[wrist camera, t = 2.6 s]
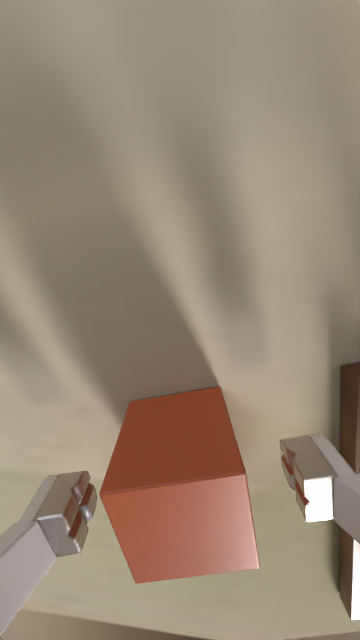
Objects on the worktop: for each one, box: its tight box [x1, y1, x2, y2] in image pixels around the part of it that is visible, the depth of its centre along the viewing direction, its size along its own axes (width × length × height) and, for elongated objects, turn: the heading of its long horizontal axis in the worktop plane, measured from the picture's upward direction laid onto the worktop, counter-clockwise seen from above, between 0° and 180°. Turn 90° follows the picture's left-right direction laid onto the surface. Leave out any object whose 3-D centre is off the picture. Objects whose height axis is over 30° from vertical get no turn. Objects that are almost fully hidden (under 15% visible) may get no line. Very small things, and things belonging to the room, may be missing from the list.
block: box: [100, 387, 260, 584], centre depth 9 cm, size 4×4×4 cm
